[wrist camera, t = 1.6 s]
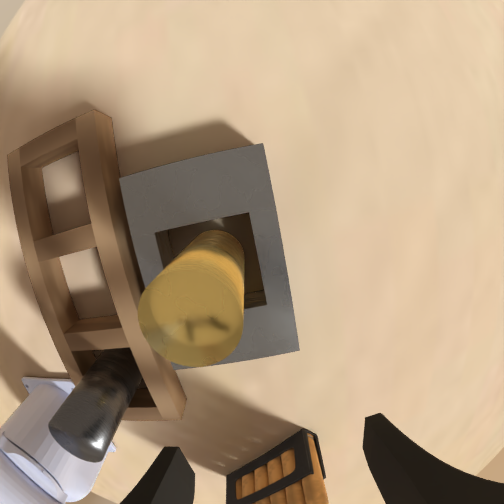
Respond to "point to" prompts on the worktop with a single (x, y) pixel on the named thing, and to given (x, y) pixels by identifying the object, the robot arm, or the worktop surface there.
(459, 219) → the worktop surface
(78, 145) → the walnut rack
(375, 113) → the worktop surface
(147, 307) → the brass round bar
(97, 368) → the black round bar
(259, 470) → the ammunition clip
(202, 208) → the steel socket
